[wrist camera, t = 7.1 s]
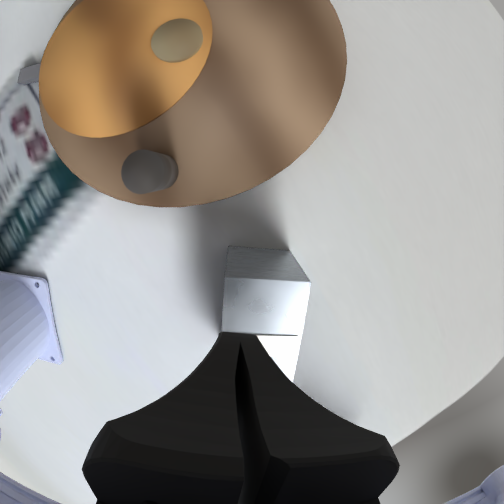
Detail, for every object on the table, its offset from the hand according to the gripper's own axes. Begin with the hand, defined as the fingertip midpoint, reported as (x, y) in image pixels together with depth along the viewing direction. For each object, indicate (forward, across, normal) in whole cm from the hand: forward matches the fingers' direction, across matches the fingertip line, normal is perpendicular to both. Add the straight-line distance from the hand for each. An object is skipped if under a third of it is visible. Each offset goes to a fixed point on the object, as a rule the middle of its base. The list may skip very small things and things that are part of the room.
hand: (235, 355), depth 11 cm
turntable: (+10, +5, -14) cm, 18 cm away
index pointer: (+9, +17, -14) cm, 24 cm away
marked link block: (+10, -1, +2) cm, 10 cm away
